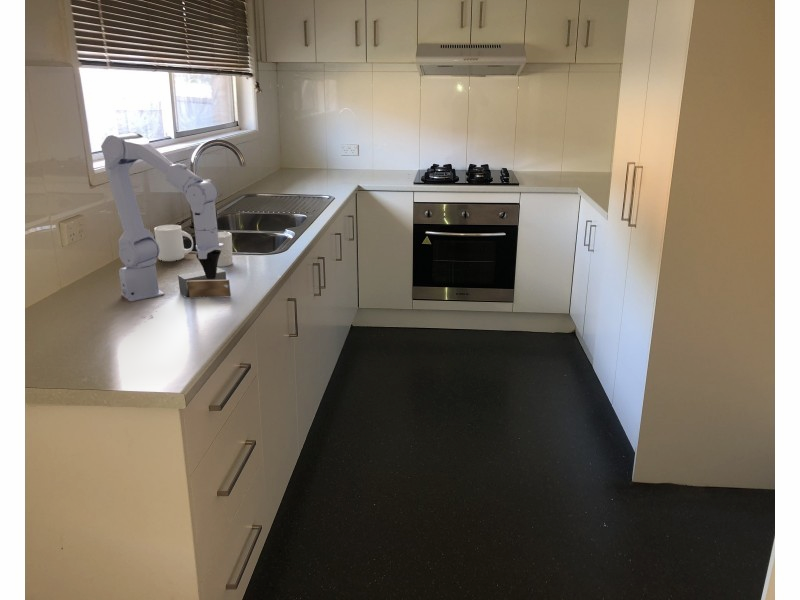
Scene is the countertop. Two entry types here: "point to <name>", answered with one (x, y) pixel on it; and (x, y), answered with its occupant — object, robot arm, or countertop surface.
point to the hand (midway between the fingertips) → (211, 278)
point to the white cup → (225, 249)
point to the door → (207, 288)
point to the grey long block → (198, 278)
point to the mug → (171, 242)
